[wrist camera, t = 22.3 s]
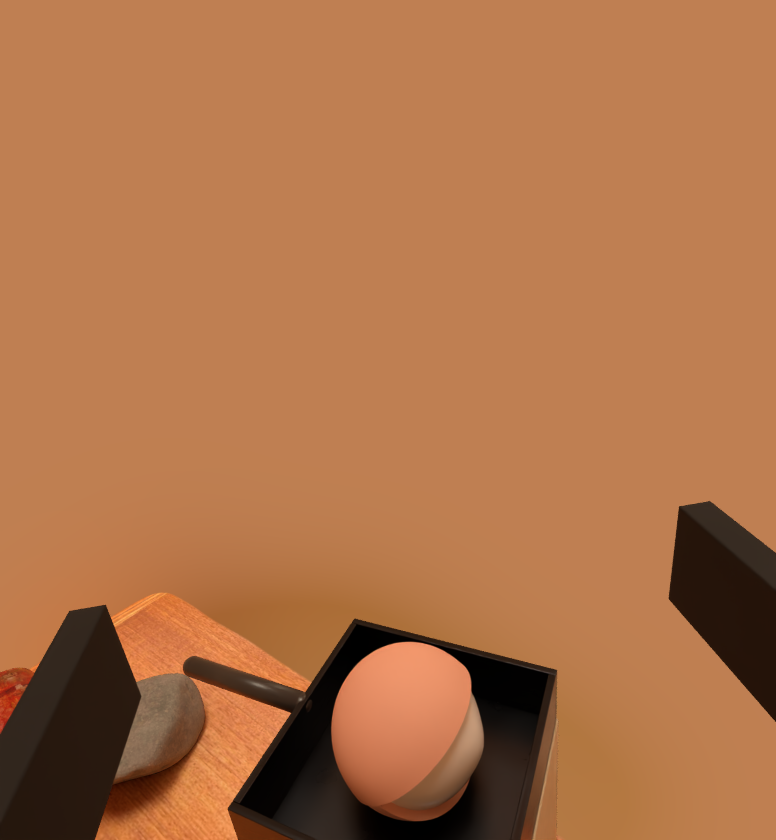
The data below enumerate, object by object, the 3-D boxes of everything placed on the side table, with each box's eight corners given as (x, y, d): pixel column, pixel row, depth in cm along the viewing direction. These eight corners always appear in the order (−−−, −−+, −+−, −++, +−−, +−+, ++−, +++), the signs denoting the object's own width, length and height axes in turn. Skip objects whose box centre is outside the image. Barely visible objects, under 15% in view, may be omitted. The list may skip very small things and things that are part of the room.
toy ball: (466, 886, 25) (455, 769, 22) (316, 827, 28) (287, 717, 25) (502, 731, 32) (498, 624, 29) (378, 697, 35) (362, 597, 32)
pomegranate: (24, 716, 63) (-75, 741, 54) (47, 651, 64) (-46, 665, 55) (66, 745, 60) (-31, 777, 51) (90, 676, 61) (-2, 696, 52)
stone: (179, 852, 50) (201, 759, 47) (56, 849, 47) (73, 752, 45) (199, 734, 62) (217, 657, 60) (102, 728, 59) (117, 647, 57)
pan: (556, 720, 33) (557, 668, 31) (502, 991, 22) (499, 934, 21) (258, 633, 42) (247, 589, 40) (120, 797, 31) (97, 747, 30)
